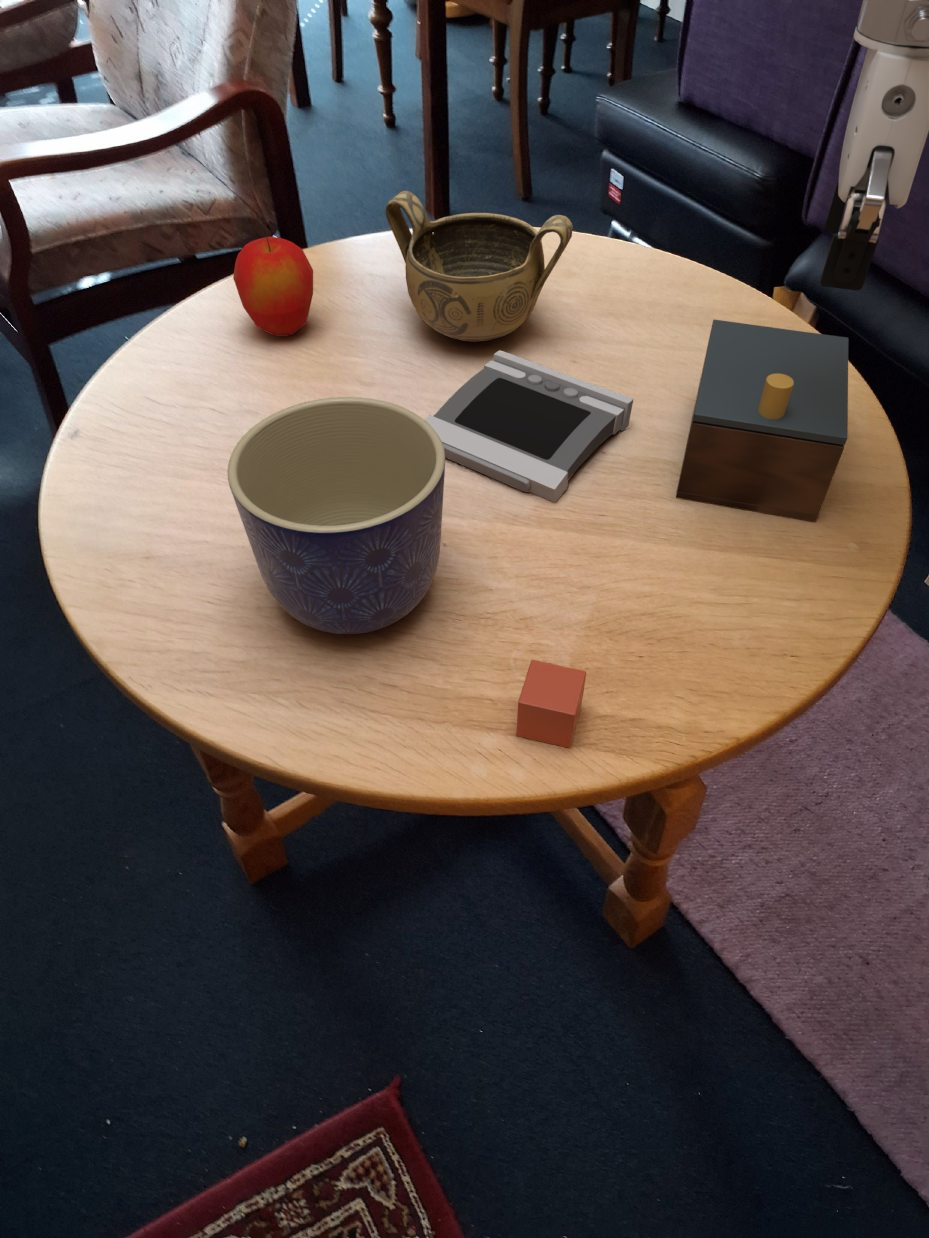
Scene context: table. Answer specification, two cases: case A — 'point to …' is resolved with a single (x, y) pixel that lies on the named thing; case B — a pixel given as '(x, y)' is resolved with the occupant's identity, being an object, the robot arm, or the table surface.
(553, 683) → the block
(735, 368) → the lid
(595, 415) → the alarm clock
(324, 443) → the planter
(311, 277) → the apple
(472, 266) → the ceramic bowl
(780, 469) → the box
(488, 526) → the table surface
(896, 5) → the robot arm
